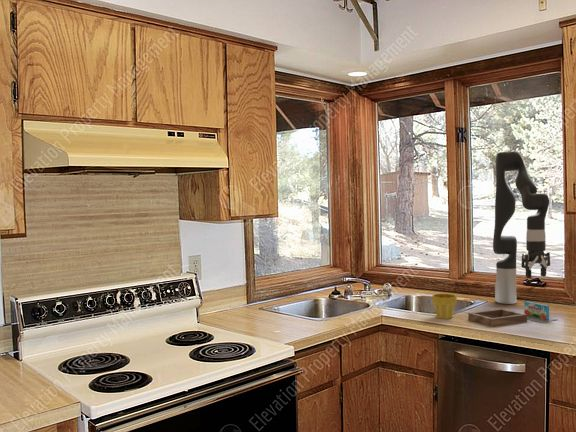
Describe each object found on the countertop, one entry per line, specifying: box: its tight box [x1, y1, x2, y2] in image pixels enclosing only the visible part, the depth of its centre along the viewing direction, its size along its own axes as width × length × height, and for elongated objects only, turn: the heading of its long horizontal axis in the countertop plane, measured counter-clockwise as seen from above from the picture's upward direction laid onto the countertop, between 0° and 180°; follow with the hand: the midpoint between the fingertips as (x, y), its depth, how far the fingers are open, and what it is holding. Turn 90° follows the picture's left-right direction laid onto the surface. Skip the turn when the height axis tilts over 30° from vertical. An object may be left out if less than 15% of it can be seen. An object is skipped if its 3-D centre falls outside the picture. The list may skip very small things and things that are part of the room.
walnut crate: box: [467, 308, 528, 327], centre depth 237 cm, size 14×19×3 cm
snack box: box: [523, 300, 550, 320], centre depth 240 cm, size 12×2×6 cm, turn 23°
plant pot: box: [431, 292, 458, 320], centre depth 245 cm, size 10×10×10 cm
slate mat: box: [527, 316, 559, 323], centre depth 240 cm, size 14×10×1 cm
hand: (536, 277), depth 240 cm, fingers open, 8 cm apart
